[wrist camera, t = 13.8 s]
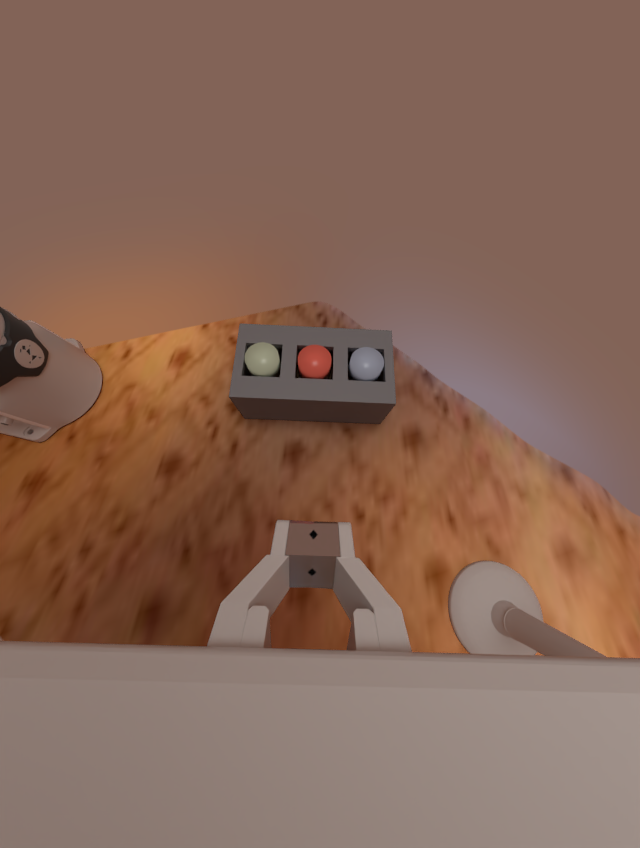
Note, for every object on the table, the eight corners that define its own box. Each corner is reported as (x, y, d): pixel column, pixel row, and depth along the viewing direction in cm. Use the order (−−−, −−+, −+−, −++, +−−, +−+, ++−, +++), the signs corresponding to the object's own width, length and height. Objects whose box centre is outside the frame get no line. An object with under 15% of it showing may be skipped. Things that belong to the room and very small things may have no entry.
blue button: (347, 386, 41) (350, 375, 38) (347, 359, 42) (350, 346, 39) (378, 388, 41) (384, 377, 38) (377, 360, 43) (383, 347, 39)
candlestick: (555, 656, 36) (1433, 1176, 8) (465, 676, 35) (1101, 1360, 7) (518, 553, 40) (1020, 653, 12) (436, 569, 39) (768, 721, 11)
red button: (297, 384, 41) (296, 373, 38) (299, 357, 42) (298, 344, 39) (329, 386, 41) (331, 375, 38) (330, 358, 42) (331, 345, 39)
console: (244, 418, 45) (228, 396, 37) (252, 356, 49) (239, 323, 41) (380, 423, 46) (395, 403, 37) (377, 361, 50) (391, 330, 41)
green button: (248, 382, 41) (242, 371, 37) (251, 355, 42) (246, 341, 39) (280, 384, 41) (277, 372, 37) (282, 356, 42) (280, 343, 39)
